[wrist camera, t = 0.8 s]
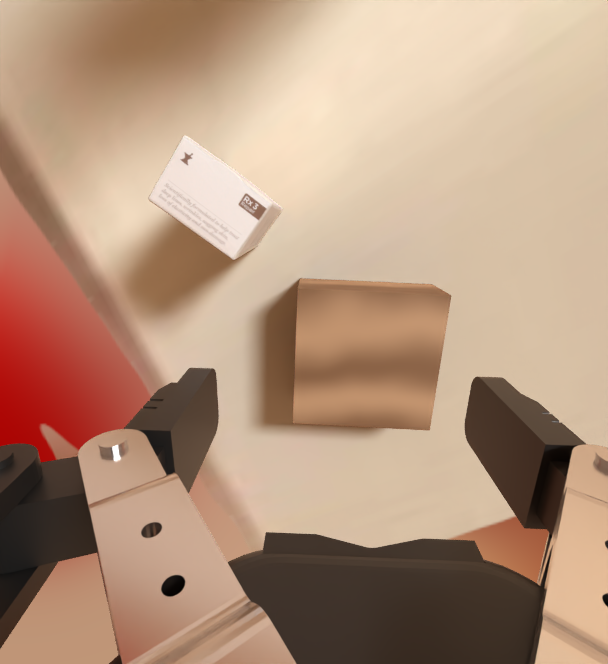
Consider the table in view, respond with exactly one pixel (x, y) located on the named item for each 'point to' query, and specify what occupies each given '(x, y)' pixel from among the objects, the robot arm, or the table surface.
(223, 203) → the skincare box
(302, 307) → the walnut block
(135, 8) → the table surface
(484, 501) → the table surface
